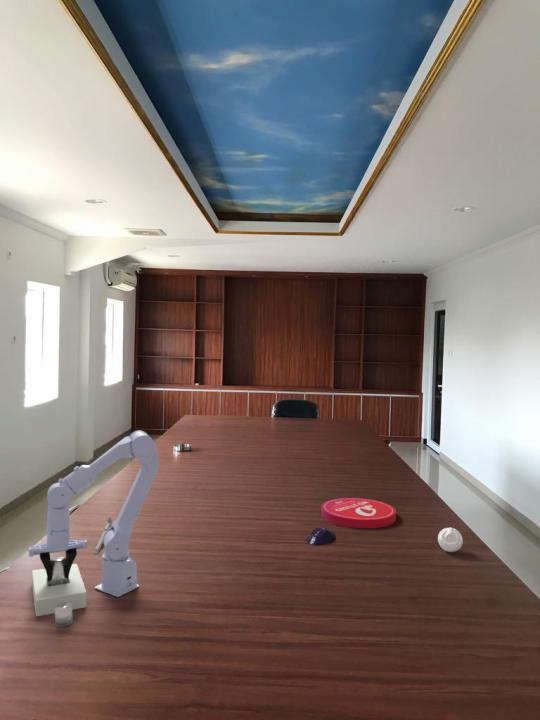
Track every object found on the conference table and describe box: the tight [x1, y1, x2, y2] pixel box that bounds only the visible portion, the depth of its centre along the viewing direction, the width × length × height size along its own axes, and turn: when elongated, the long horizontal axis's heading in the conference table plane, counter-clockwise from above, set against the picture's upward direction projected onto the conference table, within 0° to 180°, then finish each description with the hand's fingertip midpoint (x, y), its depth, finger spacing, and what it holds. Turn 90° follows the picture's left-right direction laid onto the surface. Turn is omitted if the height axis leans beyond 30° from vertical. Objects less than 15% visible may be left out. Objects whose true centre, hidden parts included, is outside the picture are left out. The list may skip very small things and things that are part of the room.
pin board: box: [31, 563, 87, 617], centre depth 147 cm, size 20×12×4 cm, turn 26°
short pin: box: [54, 603, 74, 628], centre depth 133 cm, size 4×4×4 cm
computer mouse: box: [306, 527, 336, 547], centre depth 195 cm, size 9×15×4 cm, turn 143°
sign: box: [320, 497, 397, 529], centre depth 222 cm, size 30×4×30 cm
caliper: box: [93, 516, 113, 555], centre depth 187 cm, size 20×1×6 cm, turn 3°
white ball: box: [437, 527, 464, 553], centre depth 185 cm, size 8×8×8 cm
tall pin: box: [50, 556, 66, 586], centre depth 147 cm, size 4×4×8 cm
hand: (58, 578), depth 147 cm, fingers closed on tall pin, 4 cm apart
